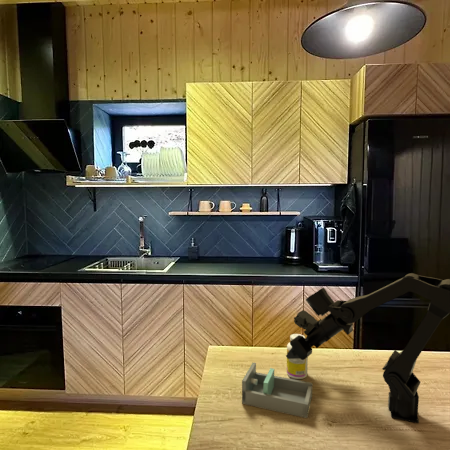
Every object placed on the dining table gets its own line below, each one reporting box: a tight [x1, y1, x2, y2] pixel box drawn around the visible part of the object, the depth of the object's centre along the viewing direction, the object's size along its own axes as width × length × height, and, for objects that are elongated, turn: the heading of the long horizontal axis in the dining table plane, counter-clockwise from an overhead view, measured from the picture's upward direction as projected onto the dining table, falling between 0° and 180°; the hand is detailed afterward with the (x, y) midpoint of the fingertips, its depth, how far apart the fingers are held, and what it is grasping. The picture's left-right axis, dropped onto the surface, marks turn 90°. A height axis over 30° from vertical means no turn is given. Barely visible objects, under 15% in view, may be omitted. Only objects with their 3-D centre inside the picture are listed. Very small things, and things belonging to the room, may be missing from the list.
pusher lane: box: [241, 362, 313, 419], centre depth 101 cm, size 18×11×7 cm, turn 70°
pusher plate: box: [263, 367, 275, 395], centre depth 101 cm, size 1×8×6 cm, turn 159°
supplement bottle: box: [286, 333, 309, 380], centre depth 114 cm, size 7×7×13 cm
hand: (293, 351), depth 114 cm, fingers open, 9 cm apart
